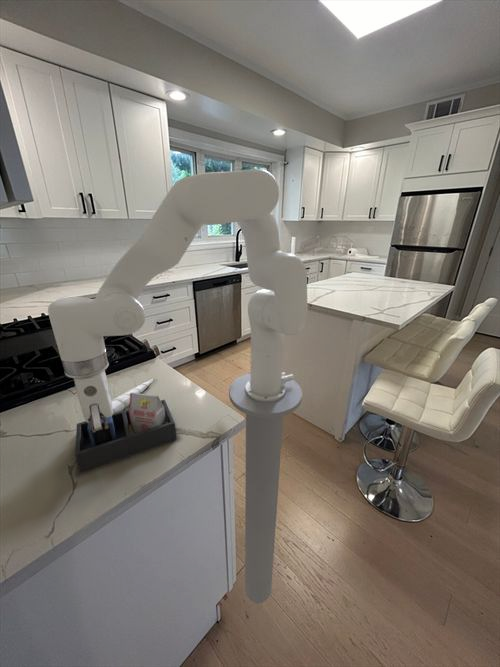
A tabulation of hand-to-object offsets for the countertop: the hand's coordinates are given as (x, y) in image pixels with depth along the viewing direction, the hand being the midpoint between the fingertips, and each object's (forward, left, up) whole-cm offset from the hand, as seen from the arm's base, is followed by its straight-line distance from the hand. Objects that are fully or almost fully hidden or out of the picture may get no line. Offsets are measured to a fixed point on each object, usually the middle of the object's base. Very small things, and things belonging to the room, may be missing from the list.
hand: (103, 434), depth 60 cm
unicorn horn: (-5, -14, -4) cm, 16 cm away
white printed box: (-9, 0, -3) cm, 10 cm away
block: (0, 0, 0) cm, 0 cm away
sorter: (-5, 0, -3) cm, 6 cm away
